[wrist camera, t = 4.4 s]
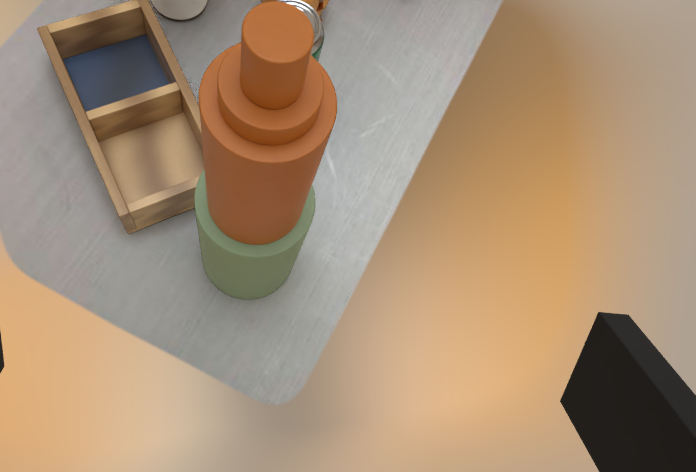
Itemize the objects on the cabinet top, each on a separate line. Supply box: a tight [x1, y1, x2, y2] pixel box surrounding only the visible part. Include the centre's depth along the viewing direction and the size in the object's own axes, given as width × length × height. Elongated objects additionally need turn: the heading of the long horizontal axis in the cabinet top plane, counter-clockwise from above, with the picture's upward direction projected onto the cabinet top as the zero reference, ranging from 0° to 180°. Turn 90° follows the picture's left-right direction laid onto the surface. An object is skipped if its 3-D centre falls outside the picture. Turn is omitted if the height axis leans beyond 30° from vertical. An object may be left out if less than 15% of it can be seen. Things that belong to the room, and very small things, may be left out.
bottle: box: [199, 1, 337, 245], centre depth 31 cm, size 6×6×18 cm
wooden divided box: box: [37, 0, 205, 234], centre depth 52 cm, size 9×17×5 cm, turn 27°
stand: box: [194, 169, 315, 299], centre depth 46 cm, size 8×8×14 cm
